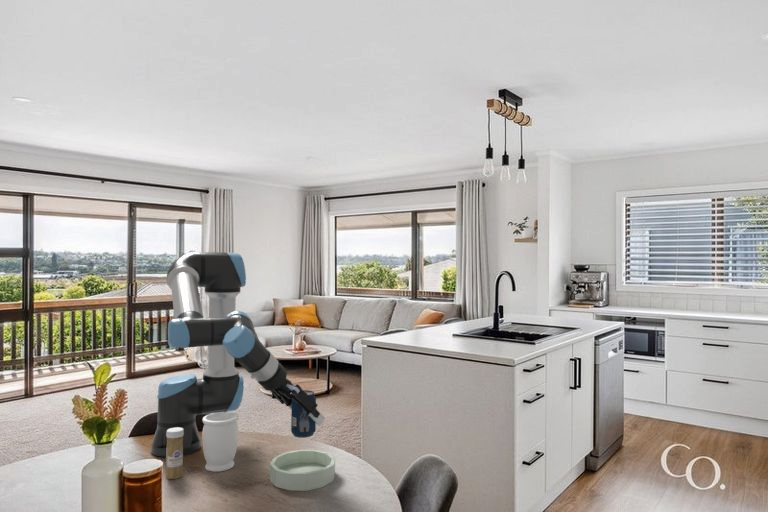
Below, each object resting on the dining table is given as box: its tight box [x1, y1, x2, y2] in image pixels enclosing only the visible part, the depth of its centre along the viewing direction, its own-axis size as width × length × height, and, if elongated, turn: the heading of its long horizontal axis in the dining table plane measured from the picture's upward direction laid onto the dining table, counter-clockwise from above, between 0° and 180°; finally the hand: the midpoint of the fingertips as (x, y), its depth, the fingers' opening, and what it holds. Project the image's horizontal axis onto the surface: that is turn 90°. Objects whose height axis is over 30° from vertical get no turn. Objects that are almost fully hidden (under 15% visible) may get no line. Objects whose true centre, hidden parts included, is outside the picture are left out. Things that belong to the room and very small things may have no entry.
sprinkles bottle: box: [165, 427, 184, 480], centre depth 148 cm, size 5×5×14 cm
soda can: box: [290, 389, 317, 439], centre depth 149 cm, size 7×7×12 cm
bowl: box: [269, 449, 336, 492], centre depth 149 cm, size 18×18×4 cm
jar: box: [201, 411, 239, 473], centre depth 156 cm, size 11×10×15 cm
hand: (313, 418), depth 152 cm, fingers closed on soda can, 7 cm apart
